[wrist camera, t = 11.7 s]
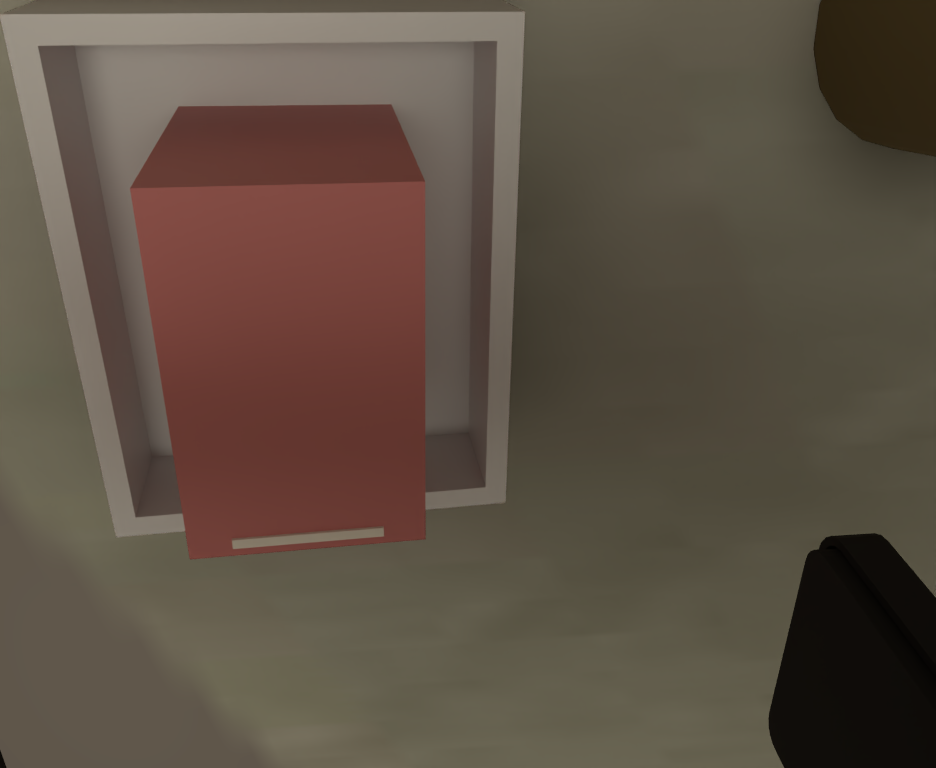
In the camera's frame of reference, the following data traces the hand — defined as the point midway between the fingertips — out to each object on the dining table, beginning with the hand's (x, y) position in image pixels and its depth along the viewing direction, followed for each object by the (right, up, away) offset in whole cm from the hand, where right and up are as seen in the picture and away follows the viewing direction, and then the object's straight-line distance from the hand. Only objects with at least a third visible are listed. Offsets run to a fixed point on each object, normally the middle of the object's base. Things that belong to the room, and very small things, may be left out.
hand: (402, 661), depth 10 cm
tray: (-3, +6, +11) cm, 13 cm away
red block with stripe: (-3, +6, +10) cm, 12 cm away
